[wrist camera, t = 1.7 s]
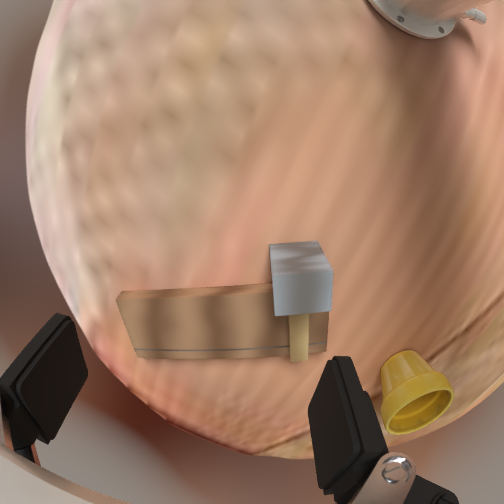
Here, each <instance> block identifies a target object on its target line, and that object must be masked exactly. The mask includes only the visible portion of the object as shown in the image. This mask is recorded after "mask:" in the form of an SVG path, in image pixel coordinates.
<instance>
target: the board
mask: <svg viewBox="0 0 504 504" xmlns="http://www.w3.org/2000/svg"><path fill="white" fill-rule="evenodd" d="M116 302H117V305H118V308H119V311H120V314H121V316H122V319H123V322H124V325H125V327H126V330H127V332H128V335H129V337H130V340H131V342H132V345H133V347H134V350H135V352H136V355H137V357H138V358H159V359H236V358H258V357H273V356H286V355H290V350H289V315H284V316H275V311H274V299H273V287H272V283H268V284H254V285H240V286H224V287H207V288H189V289H168V290H144V291H122V292H121V293H120V295H119V296H118V297H117V299H116ZM328 320H329V311H327V312H317V313H309V339H308V353H317V352H326V347H327V335H328Z"/></svg>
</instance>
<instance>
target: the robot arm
mask: <svg viewBox="0 0 504 504" xmlns="http://www.w3.org/2000/svg"><path fill="white" fill-rule="evenodd" d="M368 1H369V2H370V3H371V5H372V6H373V7H374V8H375V9H376V10H377V11H378V12H379V13H380V14H381V15H382V16H383V17H384V18H385V19H387V20H388V21H389V22H390V23H392V24H393V25H394V26H396V27H398V28H399V29H401V30H402V31H405V32H407V33H409V34H411V35H413V36H416V37H419V38H424V39H438V38H441V37H444V36H446V35H448V34H449V33H450V32H451V31H452V30H453V28H454V26H455V22H456V18H459V17H461V18H469V19H470V20H473V21H475V22H477V23H479V24H484V23H485V22H486V16H485V14H484V13H483V12H481V11H479V10H477V9H475V7H478V6H480V5H483V4H485V3H488V2H490V1H493V0H368ZM87 377H88V370H87V367H86V363H85V360H84V357H83V353H82V350H81V346H80V343H79V339H78V335H77V332H76V328H75V324H74V322H73V321H72V320H71V318H70V317H69V316H66V315H62V314H59V313H56V314H55V315H54V316H53V317H52V318H51V319H50V320H49V321H48V322H47V323H46V324H45V325H44V326H43V327H42V329H41V330H40V331H39V332H38V333H37V334H36V335H35V336H34V338H33V339H32V340H31V341H30V342H29V343H28V345H27V346H26V347H25V348H24V349H23V350H22V352H21V353H20V354H19V355H18V356H17V358H16V359H15V360H14V362H13V363H12V364H11V365H10V366H9V368H8V369H7V370H6V371H5V373H4V374H3V375H2V376H1V378H0V504H131V503H128V502H124V501H121V500H118V499H115V498H112V497H109V496H106V495H103V494H101V493H98V492H95V491H92V490H90V489H87V488H85V487H83V486H80V485H78V484H76V483H73V482H71V481H69V480H66V479H65V478H62V477H60V476H58V475H56V474H54V473H52V472H50V471H48V470H46V469H44V468H43V467H41V465H40V462H39V458H38V455H37V451H36V448H35V443H34V442H35V440H36V439H38V440H40V441H42V442H44V443H46V444H49V442H50V440H53V439H54V438H55V437H56V435H57V433H58V431H59V429H60V427H61V425H62V423H63V421H64V419H65V417H66V415H67V414H68V412H69V410H70V408H71V406H72V404H73V402H74V401H75V399H76V397H77V395H78V393H79V392H80V390H81V388H82V386H83V385H84V383H85V381H86V379H87ZM308 418H309V424H310V431H311V438H312V444H313V451H314V459H315V466H316V473H317V481H318V486H319V488H320V489H323V492H324V495H329V494H334V500H335V502H336V503H335V504H459V502H458V499H457V497H456V496H455V494H454V493H452V492H451V491H449V490H447V489H445V488H443V487H440V486H438V485H436V484H434V483H432V482H430V481H428V480H426V479H424V478H422V477H420V476H418V475H416V466H415V464H414V461H413V460H412V459H411V458H410V457H409V456H407V455H406V454H403V453H400V452H391V453H389V452H388V448H387V445H386V442H385V439H384V436H383V433H382V430H381V427H380V424H379V422H378V419H377V416H376V413H375V410H374V407H373V404H372V402H371V399H370V396H369V394H368V393H367V392H366V391H363V389H362V386H361V384H360V381H359V378H358V375H357V373H356V370H355V367H354V364H353V362H352V359H351V357H349V356H334V357H333V358H332V360H328V361H327V363H326V366H325V368H324V371H323V373H322V376H321V378H320V381H319V383H318V385H317V388H316V390H315V392H314V395H313V397H312V399H311V402H310V404H309V407H308Z"/></svg>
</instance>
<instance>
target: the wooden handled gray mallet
mask: <svg viewBox="0 0 504 504" xmlns="http://www.w3.org/2000/svg"><path fill="white" fill-rule="evenodd" d="M269 247H270V261H271V275H272V287H273V299H274V311H275V316H284V315H289V350H290V362H297V361H307V360H308V339H309V313H317V312H327V311H331V306H332V287H333V269H332V267H331V266H330V264H329V262H328V260H327V258H326V256H325V254H324V252H323V250H322V248H321V247H320V245H319V243H318V241H307V242H293V243H280V244H269Z"/></svg>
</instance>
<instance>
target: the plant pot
mask: <svg viewBox="0 0 504 504" xmlns="http://www.w3.org/2000/svg"><path fill="white" fill-rule="evenodd" d="M380 376H381V385H382V394H383V403H382V405H381V415H382V419H383V423H384V426H385V429H386V430H387V432H389V433H391V434H395V435H402V434H407V433H411V432H414V431H417V430H419V429H421V428H423V427H425V426H427V425H429V424H430V423H432V422H433V421H435V420H436V419H437V418H439V417H440V416H441V415H442V414H443V413H444V412H445V411H446V410H447V409H448V408H449V406H450V405H451V403H452V401H453V399H454V391H453V388H452V387H451V385H450V383H449V381H448V380H447V378H446V377H445V375H444V374H442V373H440V372H436V371H435V370H434V369H433V368H432V367H431V366H430V365H429V364H428V363H427V362H426V361H425V360H424V359H423V358H422V357H421V356H420V355H419V354H418V353H417V352H415V351H413V350H405V351H401V352H399V353H397V354H395V355H393V356H392V357H390V358H389V359H388V360H387V361H386V362H385V363H384V365H383V366H382V368H381V371H380Z"/></svg>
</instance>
